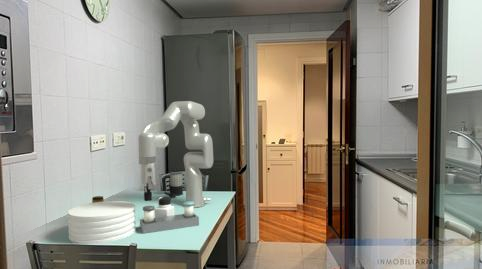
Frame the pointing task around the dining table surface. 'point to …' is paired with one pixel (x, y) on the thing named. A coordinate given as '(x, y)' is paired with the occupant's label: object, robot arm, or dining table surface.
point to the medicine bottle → (164, 207)
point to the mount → (168, 223)
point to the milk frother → (173, 184)
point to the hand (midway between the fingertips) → (148, 200)
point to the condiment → (97, 199)
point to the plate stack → (101, 222)
